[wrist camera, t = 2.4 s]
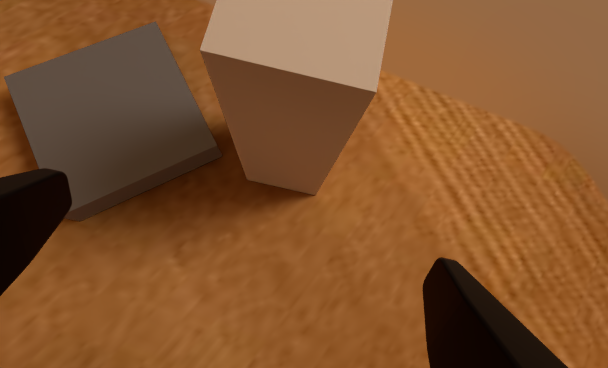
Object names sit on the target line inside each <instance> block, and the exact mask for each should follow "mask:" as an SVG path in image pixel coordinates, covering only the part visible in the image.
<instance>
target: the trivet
mask: <svg viewBox="0 0 608 368" xmlns="http://www.w3.org/2000/svg"><path fill="white" fill-rule="evenodd" d="M4 78H5V81H6V84H7V86H8V89H9V91H10V94H11V97H12V99H13V102H14V104H15V107H16V110H17V112H18V115H19V117H20V120H21V123H22V125H23V128H24V130H25V133H26V136H27V138H28V141H29V143H30V146H31V149H32V151H33V154H34V156H35V159H36V162H37V164H38V167H39V169H42V168H49V169H53V170H58V171H62V172H64V173H65V174H66V175H67V178H68V182H69V187H70V192H71V197H72V205H71V208H70V210H69V212H68V213H67V214H66V216H65V217H64V218H66V219H71V220H76V221H82V220H84V219H86V218H88V217H91V216H93V215H95V214H97V213H99V212H102V211H104V210H106V209H108V208H110V207H113V206H115V205H117V204H119V203H121V202H123V201H126V200H128V199H130V198H132V197H134V196H137V195H139V194H141V193H143V192H145V191H147V190H150V189H152V188H154V187H156V186H158V185H161V184H163V183H165V182H167V181H169V180H171V179H174V178H176V177H178V176H180V175H182V174H185V173H187V172H189V171H191V170H193V169H196V168H198V167H200V166H202V165H204V164H206V163H209V162H211V161H213V160H215V159H217V158H220V157H222V154H221V152H220V150H219V148H218V146H217V144H216V142H215V140H214V138H213V136H212V134H211V132H210V130H209V128H208V126H207V124H206V122H205V120H204V117H203V115H202V113H201V111H200V109H199V107H198V105H197V103H196V101H195V99H194V97H193V95H192V93H191V91H190V89H189V87H188V85H187V83H186V81H185V79H184V77H183V75H182V73H181V71H180V69H179V67H178V65H177V63H176V61H175V59H174V57H173V55H172V53H171V51H170V49H169V47H168V45H167V43H166V41H165V39H164V37H163V35H162V33H161V31H160V29H159V27H158V25H157V23H156V22H153V23H150V24H148V25H145V26H142V27H139V28H137V29H134V30H131V31H128V32H126V33H123V34H120V35H118V36H115V37H112V38H109V39H107V40H104V41H101V42H98V43H96V44H93V45H90V46H87V47H85V48H82V49H79V50H76V51H74V52H71V53H68V54H66V55H63V56H60V57H57V58H55V59H52V60H49V61H46V62H44V63H41V64H38V65H35V66H33V67H30V68H27V69H25V70H22V71H19V72H16V73H14V74H11V75H8V76H5V77H4Z"/></svg>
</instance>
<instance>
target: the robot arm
mask: <svg viewBox="0 0 608 368" xmlns="http://www.w3.org/2000/svg"><path fill="white" fill-rule="evenodd" d="M71 205H72V197H71V192H70V187H69V182H68V178H67V175H66V174H65V173H64V172H62V171H58V170H53V169H49V168H42V169H37V170H33V171H28V172H24V173H19V174H15V175H10V176H6V177H1V178H0V296H1V295H2V294H3V293H4V291H5V290H6V289H7V288H8V287H9V286H10V285H11V284H12V283H13V282H14V281H15V279H16V278H17V277H18V276H19V275H20V274H21V273H22V272H23V271H24V269H25V268H26V267H27V266H28V265H29V264H30V262H31V261H32V260H33V259H34V257H35V256H36V255H37V253H38V252H39V251H40V249H41V248H42V247H43V245H44V244H45V243H46V241H47V240H48V239H49V237H50V236H51V235H52V233H53V232H54V231H55V229H56V228H57V227H58V225H59V224H60V223H61V221H62V220H63V218H64V217H65V216H66V214H67V213H68V212H69V210H70V208H71ZM423 301H424V315H425V329H426V342H427V351H428V357H429V363H430V368H568V367H567V366H566V365H565V364H564V363H563V362H562V361H561V360H560V359H558V358H557V357H556V356H555V355H554V354H553V353H552V352H551V351H550V350H549V349H548V348H547V347H546V346H545V345H544V344H543V343H542V342H541V341H540V340H539V339H538V338H537V337H536V336H534V335H533V334H532V333H531V332H530V331H529V330H528V329H527V328H526V327H525V326H524V325H523V324H522V323H521V322H520V321H519V320H518V319H517V318H516V317H515V316H514V315H513V314H512V313H511V312H509V311H508V310H507V309H506V308H505V307H504V306H503V305H502V304H501V303H500V302H499V301H498V300H497V299H496V298H495V297H494V296H493V295H492V294H491V293H490V292H489V291H488V290H487V289H486V288H484V287H483V286H482V285H481V284H480V283H479V282H478V281H477V280H476V279H475V278H474V277H473V276H472V275H471V274H470V273H469V272H468V271H467V270H466V269H465V268H464V267H463V266H462V265H460V264H459V263H458V262H457V261H455V260H451V259H447V258H442V257H441V258H438V259H437V260H436V261H435V263H434V264H433V266H432V268H431V269H430V271H429V273H428V275H427V276H426V278H425V280H424V283H423Z"/></svg>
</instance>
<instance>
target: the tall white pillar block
mask: <svg viewBox="0 0 608 368" xmlns="http://www.w3.org/2000/svg"><path fill="white" fill-rule="evenodd" d="M392 2H393V0H217V1H216V4H215V7H214V10H213V13H212V16H211V19H210V22H209V25H208V28H207V31H206V34H205V37H204V40H203V43H202V45H201V48H200V52H201V54H202V57H203V60H204V63H205V65H206V68H207V71H208V74H209V76H210V79H211V82H212V85H213V87H214V90H215V93H216V96H217V98H218V101H219V104H220V107H221V109H222V112H223V115H224V118H225V120H226V123H227V126H228V129H229V131H230V134H231V137H232V140H233V142H234V145H235V148H236V151H237V153H238V156H239V159H240V162H241V164H242V167H243V170H244V173H245V175H246V178H247V180H250V181H255V182H259V183H263V184H268V185H272V186H277V187H281V188H285V189H290V190H294V191H299V192H303V193H307V194H312V195H316V194H317V192H318V190H319V189H320V187H321V185H322V184H323V182H324V180H325V178H326V177H327V175H328V173H329V172H330V170H331V168H332V167H333V165H334V163H335V162H336V160H337V158H338V156H339V155H340V153H341V151H342V150H343V148H344V146H345V145H346V143H347V141H348V139H349V138H350V136H351V134H352V133H353V131H354V129H355V128H356V126H357V124H358V122H359V121H360V119H361V117H362V116H363V114H364V112H365V111H366V109H367V107H368V106H369V104H370V102H371V100H372V99H373V97H374V95H375V94H376V91H377V86H378V80H379V75H380V69H381V63H382V57H383V51H384V46H385V40H386V35H387V30H388V24H389V18H390V13H391V7H392Z"/></svg>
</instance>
